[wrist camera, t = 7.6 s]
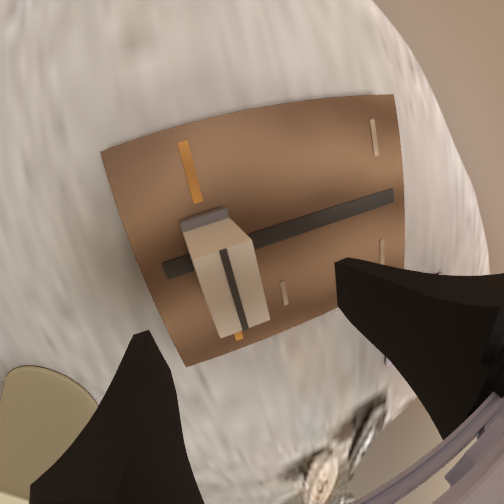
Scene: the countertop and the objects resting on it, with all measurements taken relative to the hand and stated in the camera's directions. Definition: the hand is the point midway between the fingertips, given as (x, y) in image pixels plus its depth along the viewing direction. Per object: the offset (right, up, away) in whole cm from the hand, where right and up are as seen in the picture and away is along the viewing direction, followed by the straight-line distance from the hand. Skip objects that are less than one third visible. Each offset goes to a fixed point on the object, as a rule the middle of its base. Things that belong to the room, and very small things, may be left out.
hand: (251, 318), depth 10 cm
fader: (-2, +2, +5) cm, 6 cm away
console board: (+2, +5, +8) cm, 10 cm away
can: (-17, -10, +8) cm, 21 cm away
